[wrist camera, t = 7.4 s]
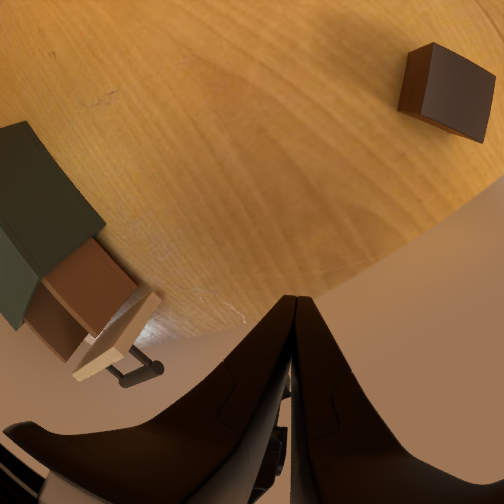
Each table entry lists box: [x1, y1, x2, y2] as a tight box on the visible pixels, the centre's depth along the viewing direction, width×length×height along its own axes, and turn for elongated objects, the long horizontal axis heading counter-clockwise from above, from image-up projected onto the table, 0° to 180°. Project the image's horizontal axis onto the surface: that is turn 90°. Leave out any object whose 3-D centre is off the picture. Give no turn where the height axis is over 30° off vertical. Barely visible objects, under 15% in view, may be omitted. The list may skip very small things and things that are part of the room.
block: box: [398, 42, 496, 144], centre depth 13 cm, size 4×4×4 cm
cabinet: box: [0, 121, 106, 331], centre depth 21 cm, size 15×13×9 cm
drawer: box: [23, 237, 164, 388], centre depth 24 cm, size 18×11×7 cm, turn 41°
